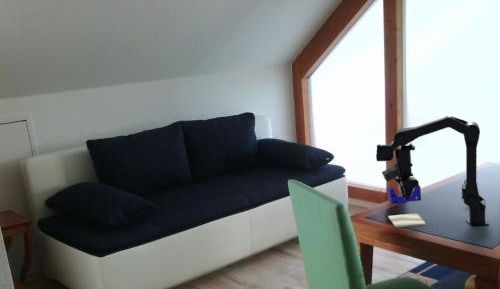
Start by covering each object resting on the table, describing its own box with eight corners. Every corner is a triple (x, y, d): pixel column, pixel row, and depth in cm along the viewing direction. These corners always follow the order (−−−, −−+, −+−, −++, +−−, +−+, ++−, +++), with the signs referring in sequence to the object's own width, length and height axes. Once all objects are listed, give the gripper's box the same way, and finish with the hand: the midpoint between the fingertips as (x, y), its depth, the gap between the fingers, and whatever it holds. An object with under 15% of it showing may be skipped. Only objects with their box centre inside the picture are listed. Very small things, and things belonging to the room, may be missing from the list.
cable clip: (391, 204, 206) (390, 190, 205) (389, 200, 211) (388, 186, 210) (422, 201, 205) (421, 187, 204) (419, 198, 210) (418, 184, 209)
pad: (425, 224, 204) (425, 223, 204) (395, 227, 204) (395, 226, 204) (417, 214, 216) (416, 213, 215) (388, 217, 216) (388, 215, 216)
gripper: (378, 157, 214) (380, 193, 217) (388, 168, 196) (391, 207, 199) (404, 154, 214) (406, 190, 217) (418, 165, 195) (420, 204, 199)
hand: (405, 197), depth 208 cm, fingers closed on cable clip, 4 cm apart
